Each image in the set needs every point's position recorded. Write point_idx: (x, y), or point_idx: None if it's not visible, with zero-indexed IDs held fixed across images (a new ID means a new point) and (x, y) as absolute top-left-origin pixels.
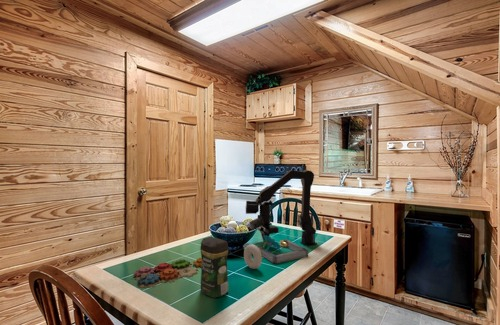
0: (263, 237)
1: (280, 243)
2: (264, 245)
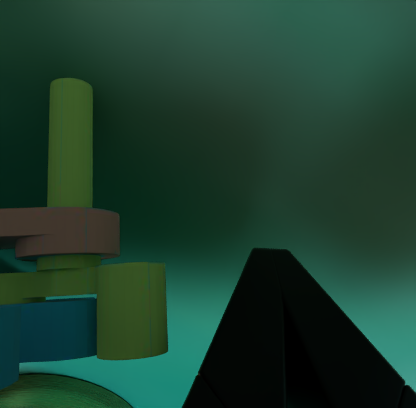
0: (260, 357)
1: None
2: (52, 143)
